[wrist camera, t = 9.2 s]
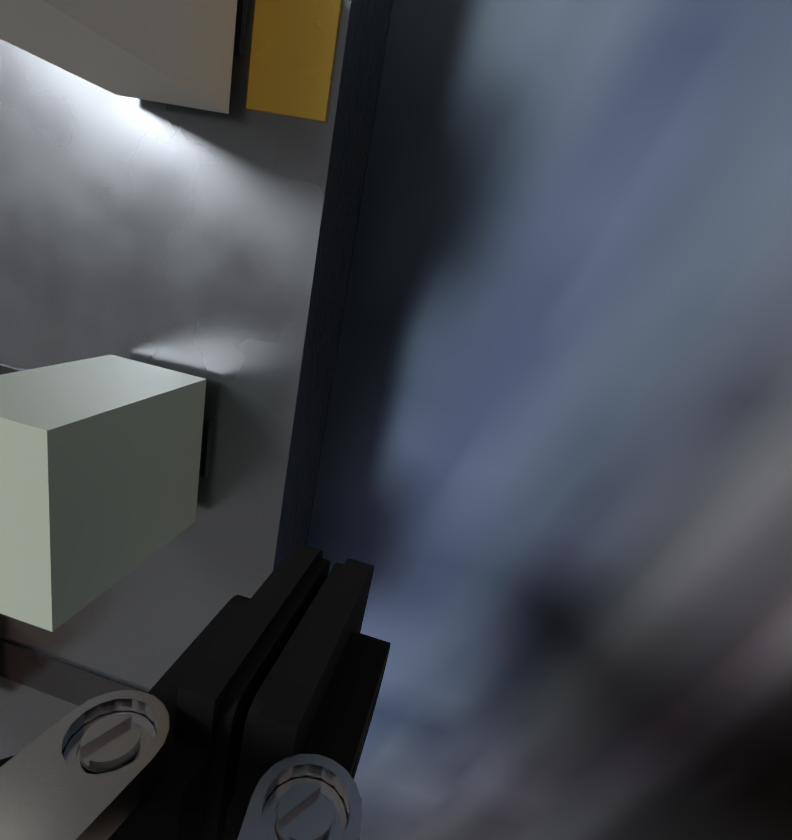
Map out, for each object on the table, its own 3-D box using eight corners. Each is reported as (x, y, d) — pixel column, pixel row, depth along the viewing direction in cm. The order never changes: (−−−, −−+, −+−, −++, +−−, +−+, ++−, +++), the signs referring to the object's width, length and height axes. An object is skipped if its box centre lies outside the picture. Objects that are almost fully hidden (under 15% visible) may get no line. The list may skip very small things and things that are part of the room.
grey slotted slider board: (425, -209, 12) (399, -369, 9) (267, 785, 22) (232, 861, 19) (-112, -243, 14) (-272, -379, 11) (-28, 673, 24) (-100, 726, 22)
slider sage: (206, 378, 14) (46, 430, 9) (195, 521, 15) (52, 631, 10) (111, 354, 14) (-90, 391, 9) (109, 495, 15) (-67, 589, 11)
